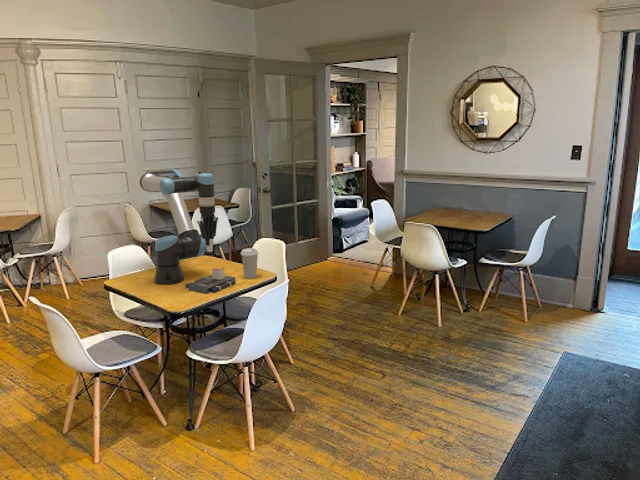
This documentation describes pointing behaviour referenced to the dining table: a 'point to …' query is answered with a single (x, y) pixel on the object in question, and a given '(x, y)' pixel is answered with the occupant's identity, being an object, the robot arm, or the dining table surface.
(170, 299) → the dining table surface
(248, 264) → the coffee cup
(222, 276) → the lever
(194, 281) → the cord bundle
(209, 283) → the panel
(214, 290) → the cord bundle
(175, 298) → the dining table surface
